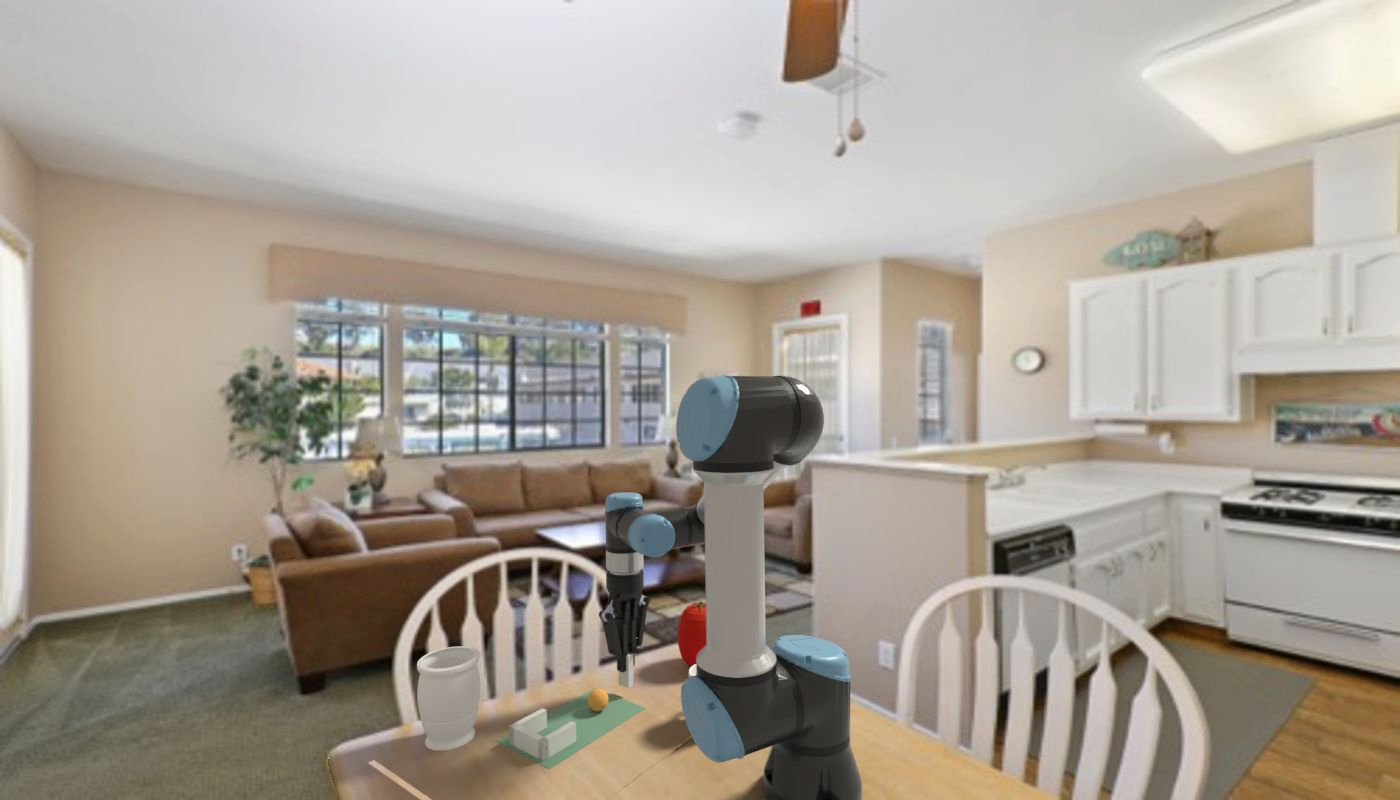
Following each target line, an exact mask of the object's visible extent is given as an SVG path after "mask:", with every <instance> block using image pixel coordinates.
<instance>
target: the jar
mask: <svg viewBox="0 0 1400 800" xmlns="http://www.w3.org/2000/svg"><path fill="white" fill-rule="evenodd" d="M480 656H481V655H480V651H479V650H478V649H477V648H474V647H471V646H463V645H461V646H460V645H459V646H449V647H443V648H439V649H436V650H433V651H430V652H428V653H426V654H425V655H423V656H422V657H421V658H420V659H419V660H418V661H417V664H416V669H417V672H418V673H419V677H418V681H417V707H418V712H419V715H420V722H421V725H422V726H421V727H422V729H423V731H424V733H425V735H426V738H425V741H424V745H425V747H426V748H427V749H429V750H432V751H439V752H440V751H448V750H453V749H458V748H460V747H461V746H464V745H467V743H469V742H470V741H471V740H472V739H474V737H475V735H476V729H475V728H474V725H475V722H476V719H477V717H478V711H479V703H480V697H481V676H480V670H479V666H478V663H479V660H480Z"/></svg>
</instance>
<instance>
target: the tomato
mask: <svg viewBox="0 0 1400 800" xmlns="http://www.w3.org/2000/svg"><path fill="white" fill-rule="evenodd" d="M676 633H677V646H678V650H679V652H680V656H681V658H682V660H683V662H684V663H685V665H687V666H688V667H689V668H691V667H692V666H693V665H695V664H696V657H697V654H698V653H699V652H700V651H701V650H702V649H703V648H704V647H705V646H706V644H707V643H706V601H705V602H703V601H699V602H692V603H691V604H689V605H687V606H686V607H685V609H684V610H683V611H682V612H681V615H680V619H679V622H678V625H677V632H676Z"/></svg>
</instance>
